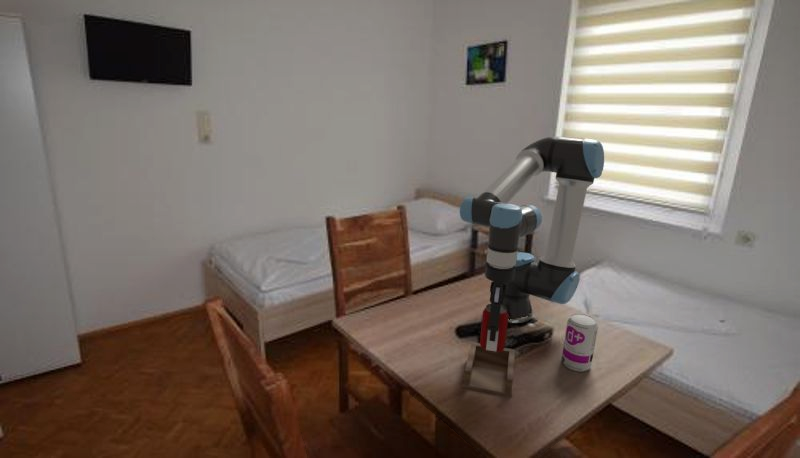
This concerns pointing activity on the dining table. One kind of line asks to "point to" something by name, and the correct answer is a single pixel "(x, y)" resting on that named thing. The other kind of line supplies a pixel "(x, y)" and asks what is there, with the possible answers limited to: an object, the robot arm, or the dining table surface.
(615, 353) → the dining table surface
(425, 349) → the dining table surface
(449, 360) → the dining table surface
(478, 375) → the walnut U-rest
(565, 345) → the supplement can
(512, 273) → the robot arm
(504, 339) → the beverage can
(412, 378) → the dining table surface
